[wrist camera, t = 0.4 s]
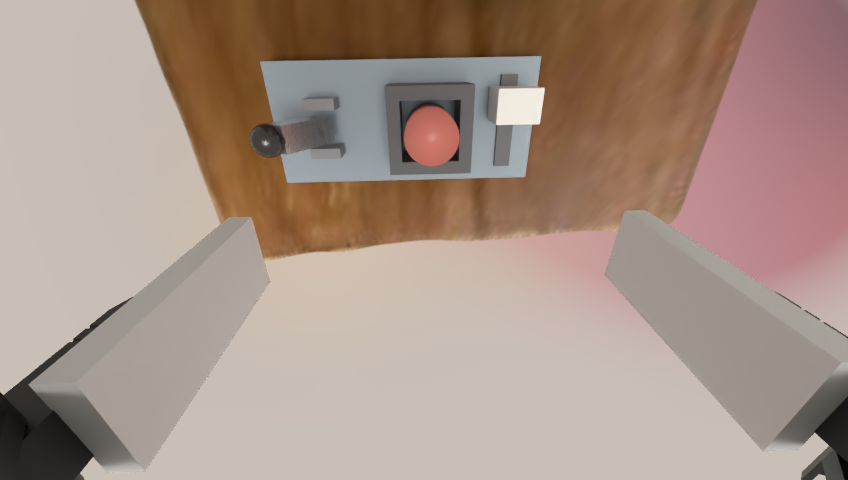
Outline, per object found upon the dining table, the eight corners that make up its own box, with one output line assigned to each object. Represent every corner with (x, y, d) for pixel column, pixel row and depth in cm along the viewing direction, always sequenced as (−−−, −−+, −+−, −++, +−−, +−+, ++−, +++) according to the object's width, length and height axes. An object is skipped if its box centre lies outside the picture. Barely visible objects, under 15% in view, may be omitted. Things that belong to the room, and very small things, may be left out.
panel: (272, 61, 33) (234, 60, 26) (531, 56, 34) (562, 54, 27) (295, 174, 39) (269, 198, 32) (517, 169, 40) (539, 192, 33)
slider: (489, 86, 32) (499, 88, 28) (530, 85, 32) (544, 87, 28) (487, 118, 33) (495, 125, 29) (526, 117, 33) (539, 124, 30)
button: (404, 103, 31) (402, 110, 26) (453, 102, 31) (460, 108, 26) (406, 152, 33) (405, 167, 28) (452, 151, 33) (458, 165, 28)
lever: (311, 112, 32) (237, 124, 26) (332, 114, 31) (261, 127, 25) (316, 141, 34) (247, 159, 28) (336, 143, 32) (269, 163, 26)
